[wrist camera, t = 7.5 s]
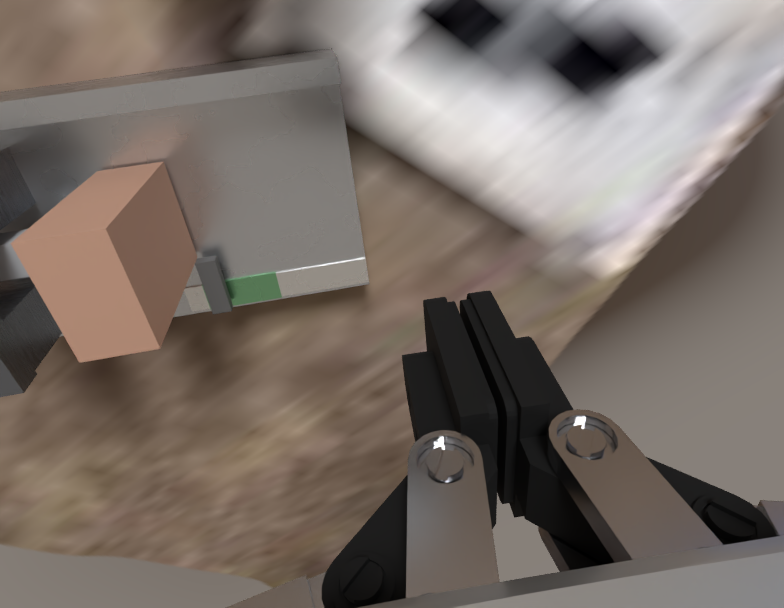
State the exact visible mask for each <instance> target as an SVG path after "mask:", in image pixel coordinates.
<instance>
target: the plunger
mask: <svg viewBox="0 0 784 608" xmlns="http://www.w3.org/2000/svg"><path fill="white" fill-rule="evenodd" d="M194 264H195V266H196V269H197V271H198V274H199V277H200V280H201V282H202V285H203V288H204V291H205V293H206V296H207V299H208V302H209V304H210V307H211V310H212V313H213V314H218V313H224V312H230V311H232V308H233V304H232V301H231V298H230V295H229V292H228V289H227V286H226V283H225V280H224V277H223V274H222V271H221V268H220V265H219V262H218V259H217V256H210V257H204V258H198V259H197V254H196V251H195V248H194V246H193V243H192V240H191V237H190V234H189V232H188V229H187V226H186V223H185V220H184V218H183V215H182V212H181V209H180V206H179V204H178V201H177V198H176V195H175V192H174V190H173V187H172V184H171V181H170V178H169V176H168V173H167V170H166V167H165V164H164V162H156V163H150V164H143V165H136V166H129V167H122V168H115V169H108V170H102V171H97V172H96V173H94V174H93V175H92V176H91V177H90V178H88V179H87V180H86V181H85V182H84V183H82V184H81V185H80V186H79V187H78V188H76V189H75V190H74V191H73V192H72V193H70V194H69V195H68V196H67V197H66V198H64V199H63V200H62V201H61V202H60V203H58V204H57V205H56V206H55V207H54V208H52V209H51V210H50V211H49V212H48V213H46V214H45V215H44V216H43V217H42V218H40V219H39V220H38V221H37V222H36V223H34V224H33V225H32V226H31V227H30V228H28V229H24V230H17V231H11V232H4V233H0V281H5V280H12V279H18V278H24V277H30V278H31V280H32V282H33V283H34V285H35V287H36V289H37V290H38V292H39V294H40V295H41V297H42V299H43V301H44V302H45V304H46V306H47V308H48V309H49V311H50V313H51V314H52V316H53V318H54V320H55V321H56V323H57V325H58V327H59V328H60V330H61V332H62V333H63V335H64V337H65V339H66V340H67V342H68V344H69V345H70V347H71V349H72V351H73V352H74V354H75V356H76V358H77V359H78V361H79V363H81V362H87V361H93V360H98V359H104V358H110V357H116V356H121V355H127V354H133V353H139V352H144V351H150V350H156V349H160V348H161V346H162V343H163V341H164V338H165V336H166V333H167V331H168V329H169V326H170V324H171V321H172V319H173V316H174V314H175V311H176V309H177V306H178V304H179V301H180V299H181V297H182V294H183V292H184V289H185V287H186V284H187V282H188V279H189V277H190V274H191V272H192V269H193V267H194Z"/></svg>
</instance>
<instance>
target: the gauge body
mask: <svg viewBox="0 0 784 608" xmlns="http://www.w3.org/2000/svg"><path fill="white" fill-rule="evenodd" d="M340 83H341V78H340V72H339V65H338V58H337V56H336V54H335V53H334V51H333V50H332V48H331V49H324V50H316V51H308V52H301V53H293V54H286V55H278V56H271V57H263V58H255V59H248V60H240V61H233V62H225V63H217V64H210V65H202V66H195V67H187V68H180V69H172V70H164V71H157V72H149V73H142V74H134V75H126V76H119V77H111V78H104V79H96V80H89V81H81V82H73V83H66V84H58V85H51V86H43V87H35V88H28V89H20V90H13V91H5V92H0V233H4V232H11V231H17V230H24V229H28V228H30V227H31V226H32V225H33V224H34V223H36V222H37V221H38V220H39V219H40V218H42V217H43V216H44V215H45V214H46V213H48V212H49V211H50V210H51V209H52V208H54V207H55V206H56V205H57V204H58V203H60V202H61V201H62V200H63V199H64V198H66V197H67V196H68V195H69V194H70V193H72V192H73V191H74V190H75V189H76V188H78V187H79V186H80V185H81V184H82V183H84V182H85V181H86V180H87V179H88V178H90V177H91V176H92V175H93V174H94V173H96V172H97V171H102V170H108V169H115V168H122V167H129V166H136V165H143V164H150V163H156V162H164V164H165V167H166V170H167V173H168V176H169V178H170V181H171V184H172V187H173V190H174V192H175V195H176V198H177V201H178V204H179V206H180V209H181V212H182V215H183V218H184V220H185V223H186V226H187V229H188V232H189V234H190V237H191V240H192V243H193V246H194V248H195V251H196V254H197V259H198V258H204V257H210V256H217V259H218V262H219V265H220V268H221V271H222V274H223V277H224V280H225V283H226V286H227V289H228V292H229V295H230V298H231V301H232V304H233V307H237V306H243V305H249V304H255V303H261V302H266V301H272V300H278V299H284V298H290V297H296V296H302V295H308V294H314V293H319V292H325V291H331V290H337V289H343V288H349V287H355V286H361V285H367V284H369V279H368V272H367V265H366V259H365V252H364V246H363V239H362V232H361V226H360V219H359V212H358V206H357V199H356V192H355V186H354V179H353V172H352V166H351V159H350V152H349V146H348V139H347V132H346V126H345V119H344V112H343V106H342V99H341V92H340V86H339V84H340ZM208 311H212V310H211V307H210V304H209V302H208V299H207V296H206V293H205V291H204V288H203V285H202V282H201V280H200V277H199V274H198V271H197V269H196V266H195V264H194V267H193V269H192V272H191V274H190V277H189V279H188V282H187V284H186V287H185V289H184V292H183V294H182V297H181V299H180V301H179V304H178V306H177V309H176V311H175V314H174V316H173V317H178V316H184V315H190V314H196V313H202V312H208ZM60 336H64V335H63V333H62V332H61V330H60V328H59V327H58V325H57V323H56V321H55V320H54V318H53V316H52V314H51V313H50V311H49V309H48V308H47V306H46V304H45V302H44V301H43V299H42V297H41V295H40V294H39V292H38V290H37V289H36V287H35V285H34V283H33V282H32V280H31V278H30V277H24V278H18V279H12V280H5V281H0V397H3V396H9V395H14V394H20V393H24V392H25V391H26V389H27V388H28V386H29V385H30V384H31V382H32V381H33V379H34V378H35V377H36V375H37V373H36V371H35V370H36V368H37V367H38V366H39V364H40V363H41V361H42V360H43V359H44V357H45V356H46V355H47V353H48V352H49V350H50V349H51V348H52V346H53V345H54V343H55V342H56V341H57V339H58V338H59V337H60Z"/></svg>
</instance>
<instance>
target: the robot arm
mask: <svg viewBox="0 0 784 608" xmlns="http://www.w3.org/2000/svg"><path fill="white" fill-rule="evenodd" d="M423 306H424V319H425V332H426V345H427V352H420V353H413V354H407V355H402V360H403V370H404V378H405V386H406V393H407V399H408V405H409V411H410V416H411V421H412V427H413V432H414V437H415V443H414V445H413V446H412V448H411V450H410V452H409V457H408V475H407V476H406V477H405V478H404V479H403V481H402V482H401V483H400V484H399V485H398V486H397V488H396V489H395V490H394V491H393V492H392V493H391V495H390V496H389V497H388V498H387V499H386V500H385V502H384V503H383V504H382V505H381V506H380V507H379V508H378V510H377V511H376V512H375V513H374V514H373V515H372V517H371V518H370V519H369V520H368V521H367V522H366V524H365V525H364V526H363V527H362V528H361V529H360V531H359V532H358V533H357V534H356V535H355V536H354V537H353V539H352V540H351V541H350V542H349V543H348V544H347V546H346V547H345V548H344V549H343V550H342V551H341V553H340V554H339V555H338V556H337V557H336V558H335V560H334V561H333V562H332V564H331V565H330V567H329V568H328V570H327V571H326V572H325V573H322V574H320V575H318V576H315V577H313V578H310V579H307V576H306V575H304V576H302V577H299V578H297V579H294V580H292V581H290V582H287V583H285V584H282V585H280V586H277V587H275V588H273V589H270V590H268V591H265V592H263V593H261V594H258V595H256V596H253V597H251V598H248V599H246V600H243V601H241V602H238V603H236V604H234V605H231V606H229V607H227V608H784V502H783V501H765V500H760V502H759V504H758V506H754V505H752V504H750V503H749V502H747V501H745V500H743V499H741V498H740V497H738V496H736V495H734V494H731V493H729V492H727V491H724V490H722V489H720V488H717V487H715V486H713V485H710V484H708V483H706V482H703V481H701V480H699V479H696V478H694V477H692V476H689V475H687V474H685V473H682V472H680V471H678V470H675V469H673V468H671V467H668V466H666V465H664V464H661V463H659V462H657V461H654V460H652V459H650V458H647V457H645V455H644V454H643V453H642V452H641V451H640V450H639V449H638V448H637V446H636V445H635V444H634V443H633V442H632V441H631V440H630V438H629V437H628V436H627V435H626V434H625V433H624V432H623V431H622V429H621V428H620V427H619V426H618V425H617V424H615V423H614V422H613V421H612V420H611V419H609V418H607V417H606V416H604V415H602V414H600V413H596V412H593V411H589V410H578V409H577V410H573V408H572V406H571V405H570V403H569V401H568V399H567V398H566V396H565V394H564V393H563V391H562V389H561V387H560V386H559V384H558V382H557V381H556V379H555V377H554V375H553V374H552V372H551V370H550V368H549V367H548V365H547V363H546V361H545V360H544V358H543V356H542V355H541V353H540V351H539V349H538V348H537V346H536V344H535V342H534V341H533V340H532V338H531V337H529V336H528V337H521V338H515V336H514V334H513V332H512V330H511V328H510V327H509V325H508V323H507V321H506V319H505V317H504V315H503V313H502V312H501V310H500V308H499V306H498V304H497V302H496V300H495V298H494V297H493V295H492V293H491V291H482V292H475V293H469V294H467V300H461V301H460V313H459V311H458V308H457V306H456V304H455V302H454V301H453V302H447V299H446V297H441V298H434V299H427V300H424V301H423ZM497 493H498V496H499V498H500V501H501V503H502V504H505V503H510V506H511V509H512V512H513V515H514V517H520V516H524V517H525V519H526V520H528V521H530V522H532V523H533V524H535V525H537V526H538V530H539V533H540V536H541V539H542V541H543V542H544V544H545V546H546V548H547V550H548V552H549V553H550V555H551V557H552V559H553V561H554V562H555V564H556V566H557V568H558V570H559V571H560V572H557V573H551V574H545V575H539V576H533V577H528V578H522V579H516V580H510V581H504V582H499V575H498V568H497V561H496V553H495V546H494V539H493V532H492V529H493V527H494V526H495V524H496V505H497Z"/></svg>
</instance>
